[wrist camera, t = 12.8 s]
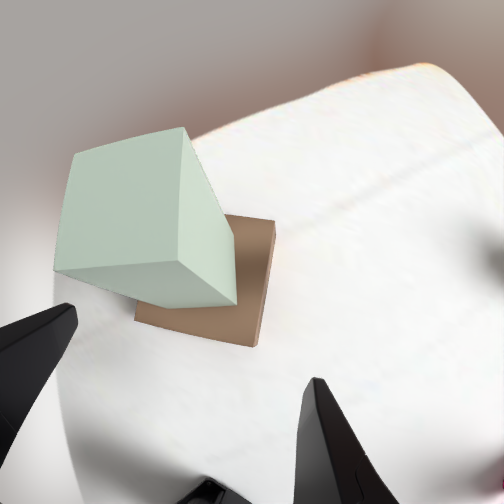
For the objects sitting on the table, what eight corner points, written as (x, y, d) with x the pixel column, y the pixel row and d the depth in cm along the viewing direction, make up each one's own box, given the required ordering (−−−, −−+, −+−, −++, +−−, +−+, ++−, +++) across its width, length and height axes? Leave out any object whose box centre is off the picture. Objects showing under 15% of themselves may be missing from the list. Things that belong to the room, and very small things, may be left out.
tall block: (237, 305, 20) (177, 260, 9) (167, 308, 20) (53, 270, 9) (233, 235, 21) (184, 126, 10) (168, 241, 22) (74, 153, 10)
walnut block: (257, 344, 23) (253, 347, 19) (155, 322, 24) (134, 320, 21) (275, 237, 25) (274, 220, 21) (176, 223, 26) (160, 206, 23)
